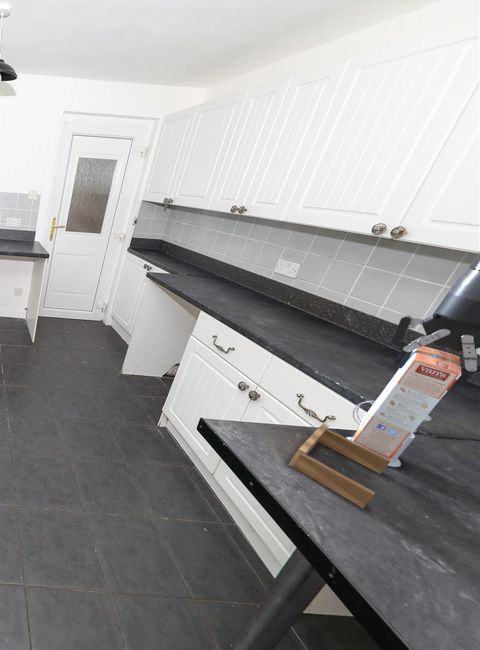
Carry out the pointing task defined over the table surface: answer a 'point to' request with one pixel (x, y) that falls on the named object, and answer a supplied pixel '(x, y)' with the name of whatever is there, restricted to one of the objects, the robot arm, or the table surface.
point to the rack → (332, 477)
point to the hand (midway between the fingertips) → (424, 375)
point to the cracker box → (408, 400)
